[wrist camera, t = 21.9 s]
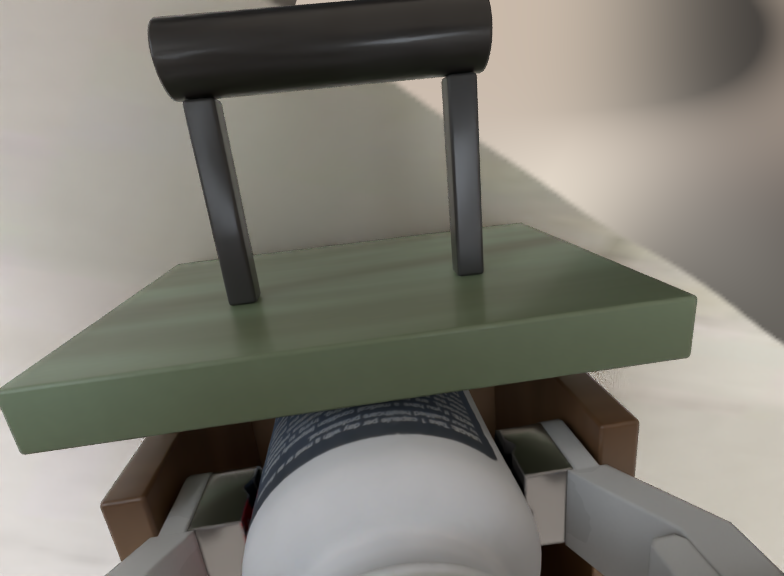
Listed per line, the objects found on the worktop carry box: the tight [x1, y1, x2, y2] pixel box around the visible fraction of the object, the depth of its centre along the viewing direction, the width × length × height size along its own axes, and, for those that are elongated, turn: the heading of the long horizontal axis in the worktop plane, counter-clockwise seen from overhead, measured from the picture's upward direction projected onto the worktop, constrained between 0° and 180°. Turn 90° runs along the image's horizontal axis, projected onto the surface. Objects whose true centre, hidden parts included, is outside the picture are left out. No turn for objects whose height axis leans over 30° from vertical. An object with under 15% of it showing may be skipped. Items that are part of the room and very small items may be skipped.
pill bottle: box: [242, 390, 542, 576], centre depth 9 cm, size 5×5×9 cm
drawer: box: [0, 0, 697, 576], centre depth 12 cm, size 18×11×8 cm, turn 6°
